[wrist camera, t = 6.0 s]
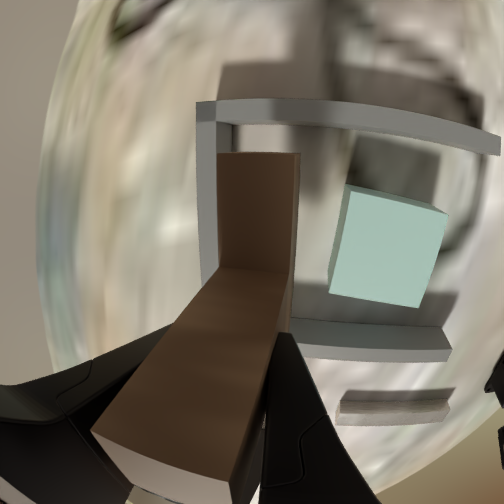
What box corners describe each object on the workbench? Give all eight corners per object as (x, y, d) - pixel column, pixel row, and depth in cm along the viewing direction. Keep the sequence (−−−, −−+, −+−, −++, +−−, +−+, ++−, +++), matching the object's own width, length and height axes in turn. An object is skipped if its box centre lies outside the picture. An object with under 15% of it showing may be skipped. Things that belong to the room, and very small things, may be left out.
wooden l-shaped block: (300, 153, 11) (199, 177, 2) (286, 356, 14) (239, 539, 5) (241, 151, 11) (1, 192, 2) (242, 350, 15) (168, 519, 6)
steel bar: (445, 396, 21) (450, 409, 19) (438, 408, 22) (442, 421, 20) (339, 397, 23) (339, 413, 22) (335, 409, 24) (335, 425, 22)
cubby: (477, 136, 13) (500, 136, 10) (436, 338, 19) (446, 361, 16) (214, 108, 17) (196, 102, 14) (219, 320, 22) (206, 343, 20)
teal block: (427, 202, 16) (448, 215, 13) (405, 283, 18) (418, 308, 15) (344, 183, 17) (351, 191, 14) (327, 268, 19) (328, 292, 16)
